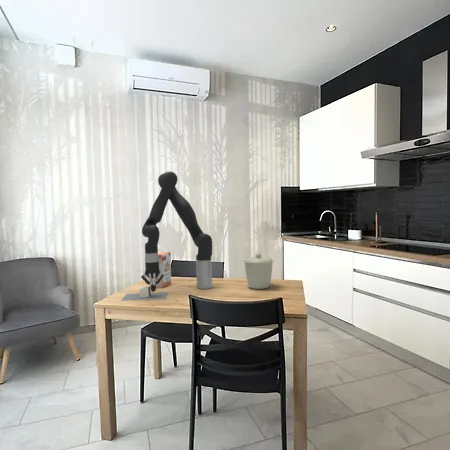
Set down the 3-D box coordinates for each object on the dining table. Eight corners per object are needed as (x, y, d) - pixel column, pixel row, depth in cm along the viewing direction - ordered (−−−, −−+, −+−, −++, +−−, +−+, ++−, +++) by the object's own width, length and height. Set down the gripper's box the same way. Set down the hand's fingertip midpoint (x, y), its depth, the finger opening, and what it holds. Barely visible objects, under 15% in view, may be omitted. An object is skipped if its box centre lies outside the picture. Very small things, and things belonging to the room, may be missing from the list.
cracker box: (163, 288, 202) (162, 254, 201) (154, 288, 203) (153, 254, 202) (171, 283, 216) (170, 251, 215) (163, 283, 217) (162, 251, 216)
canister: (270, 292, 188) (270, 255, 187) (240, 290, 194) (239, 254, 193) (276, 284, 205) (276, 251, 204) (248, 283, 211) (247, 250, 210)
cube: (150, 285, 186) (141, 286, 186) (148, 287, 181) (139, 288, 181) (150, 294, 187) (141, 295, 186) (149, 296, 182) (140, 297, 181)
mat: (168, 292, 192) (168, 292, 192) (165, 299, 178) (165, 298, 178) (126, 294, 190) (126, 293, 190) (120, 301, 176) (120, 300, 176)
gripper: (164, 259, 187) (166, 289, 188) (141, 260, 186) (142, 290, 188) (163, 261, 180) (164, 292, 181) (138, 262, 179) (140, 293, 180)
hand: (153, 291), depth 184 cm, fingers closed
